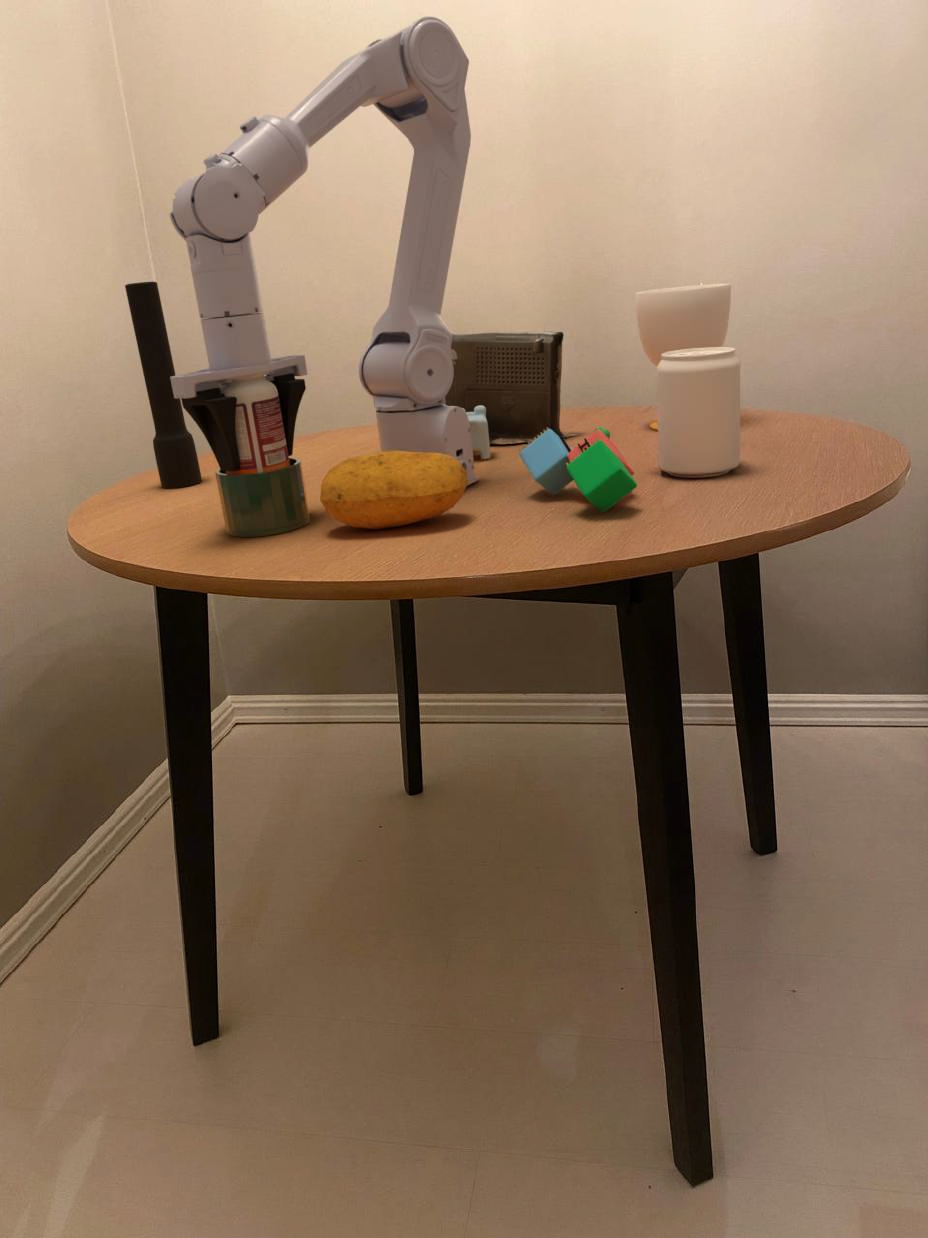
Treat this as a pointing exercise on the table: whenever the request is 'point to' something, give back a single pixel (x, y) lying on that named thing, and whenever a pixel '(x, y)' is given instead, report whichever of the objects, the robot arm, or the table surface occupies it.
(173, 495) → the table surface
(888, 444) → the table surface
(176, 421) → the flashlight
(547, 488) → the building blocks
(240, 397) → the pill bottle
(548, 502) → the table surface
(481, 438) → the figurine
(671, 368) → the beverage can
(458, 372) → the radio
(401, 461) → the potato
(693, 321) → the cup
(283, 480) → the green round pot
